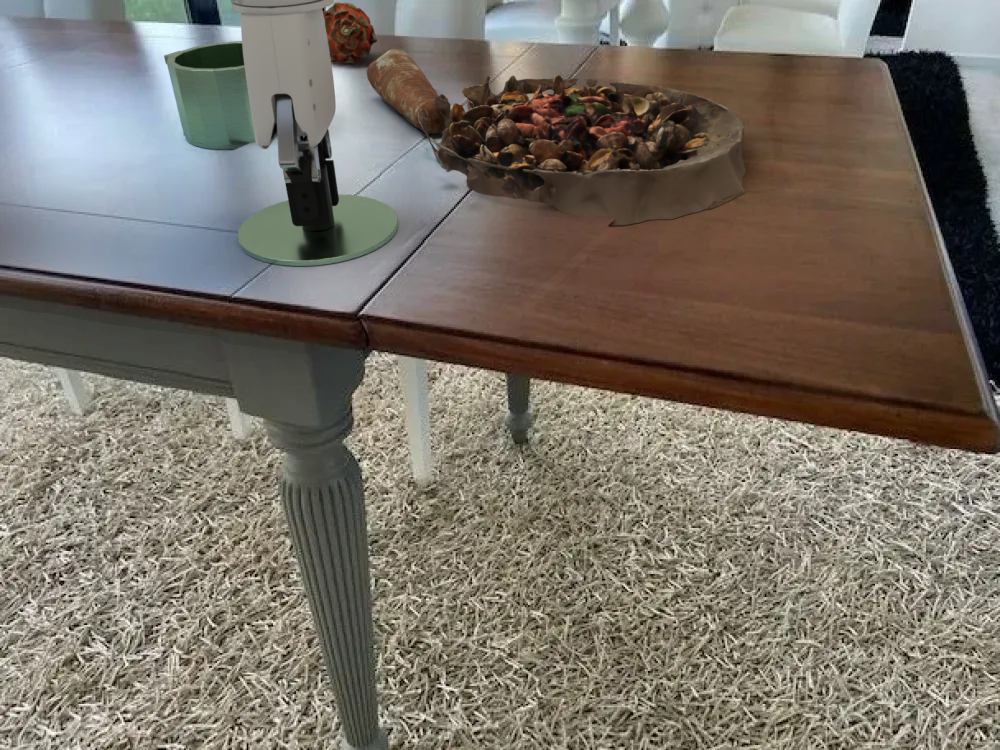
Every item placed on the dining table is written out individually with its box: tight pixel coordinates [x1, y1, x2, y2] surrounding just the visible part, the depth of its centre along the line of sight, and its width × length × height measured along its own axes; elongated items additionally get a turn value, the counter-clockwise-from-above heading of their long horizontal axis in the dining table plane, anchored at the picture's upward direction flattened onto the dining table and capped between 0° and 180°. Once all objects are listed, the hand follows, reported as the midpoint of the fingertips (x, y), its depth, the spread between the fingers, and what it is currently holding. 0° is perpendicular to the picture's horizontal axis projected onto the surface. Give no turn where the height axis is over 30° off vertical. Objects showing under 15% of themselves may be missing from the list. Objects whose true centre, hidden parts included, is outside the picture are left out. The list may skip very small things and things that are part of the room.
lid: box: [237, 162, 399, 267], centre depth 73 cm, size 14×14×6 cm
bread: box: [366, 48, 446, 135], centre depth 101 cm, size 6×19×6 cm, turn 19°
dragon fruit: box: [323, 1, 378, 65], centre depth 122 cm, size 8×8×12 cm
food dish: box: [418, 74, 747, 227], centre depth 87 cm, size 35×33×8 cm
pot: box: [163, 40, 278, 150], centre depth 96 cm, size 13×18×8 cm
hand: (316, 212), depth 73 cm, fingers open, 3 cm apart
